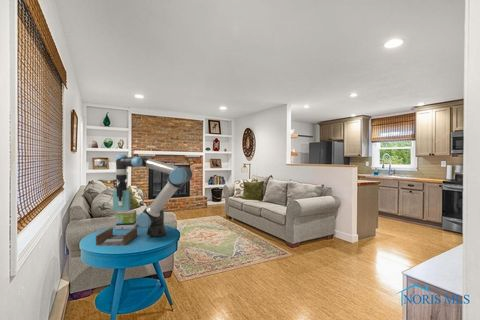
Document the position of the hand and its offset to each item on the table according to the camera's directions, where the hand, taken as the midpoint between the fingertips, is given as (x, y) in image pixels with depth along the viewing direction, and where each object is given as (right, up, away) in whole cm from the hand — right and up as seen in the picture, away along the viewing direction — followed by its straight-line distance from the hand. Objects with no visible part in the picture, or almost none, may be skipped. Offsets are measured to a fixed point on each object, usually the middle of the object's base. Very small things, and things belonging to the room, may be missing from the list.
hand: (121, 204), depth 186 cm
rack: (0, -27, -7) cm, 27 cm away
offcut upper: (0, -25, -12) cm, 28 cm away
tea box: (-11, -26, +30) cm, 42 cm away
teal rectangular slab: (0, -4, 0) cm, 4 cm away
